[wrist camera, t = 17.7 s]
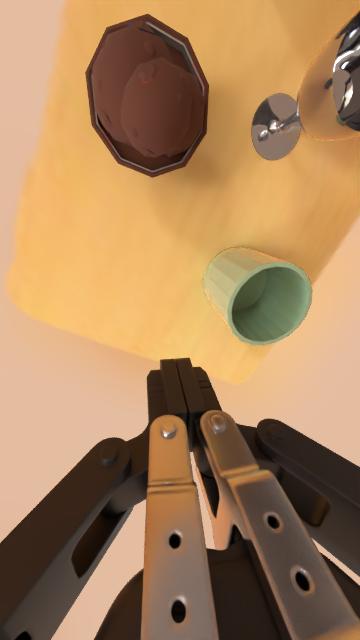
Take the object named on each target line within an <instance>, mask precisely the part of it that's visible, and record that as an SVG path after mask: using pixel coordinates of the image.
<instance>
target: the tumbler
mask: <svg viewBox="0 0 360 640" xmlns="http://www.w3.org/2000/svg"><path fill="white" fill-rule="evenodd" d="M203 288H204V293H205V295H206V297H207V299H208V301H209V302H210V304H211V305H212V306H213V308H214V309H215V310H216V312H217V313H218V314H219V316H220V317H221V318H222V320H223V321H224V322H225V323H226V325H227V326H228V327H229V329H230V330H231V331H232V333H233V334H234V335H235V336H236V337H238V338H239V339H240V340H241V341H243V342H246V343H248V344H251V345H267V344H271V343H275V342H278V341H279V340H281V339H283V338H285V337H287V336H289V335H290V334H291V333H292V332H293V331H294V330H295V329H297V328H298V327H299V325H300V324H301V322H302V321H303V320H304V318H305V317H306V315H307V312H308V310H309V308H310V305H311V301H312V287H311V283H310V279H309V278H308V276H307V275H306V274H305V272H304V271H303V270H302V269H301V268H300V267H298V266H296V265H294V264H292V263H290V262H287V261H284V260H281V259H279V258H276V257H273V256H270V255H267V254H264V253H262V252H259V251H256V250H253V249H249V248H246V247H233V248H229V249H226V250H224V251H222V252H221V253H219V254H218V255H217V256H216V257H215V258H213V260H212V261H211V262H210V264H209V265H208V267H207V269H206V271H205V274H204V278H203Z"/></svg>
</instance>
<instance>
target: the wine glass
mask: <svg viewBox="0 0 360 640" xmlns="http://www.w3.org/2000/svg"><path fill="white" fill-rule="evenodd" d="M301 128H302V129H303V131H304V132H305V133H306V134H307V135H308V136H310V137H311V138H314V139H317V140H321V141H337V140H344V139H350V138H353V137H357V136H360V10H359V11H357V12H356V13H355V14H354V15H353V16H352V17H351V18H350V19H349V20H348V21H347V22H346V23H345V24H344V25H343V26H342V27H341V28H340V29H339V30H338V31H337V32H336V33H335V34H334V35H333V36H332V37H331V38H330V40H329V41H328V42H327V43H326V44H325V46H324V47H323V48H322V49H321V51H320V52H319V53H318V54H317V56H316V57H315V59H314V60H313V62H312V63H311V65H310V66H309V68H308V70H307V72H306V74H305V76H304V78H303V80H302V82H301V85H300V88H299V92H298V97H297V103H296V102H295V100H294V99H293V98H291V97H290V96H288V95H286V94H280V93H279V94H274V95H272V96H270V97H268V98H267V99H265V100H264V101H263V102H262V103H261V105H260V106H259V107H258V109H257V111H256V113H255V115H254V118H253V122H252V129H251V136H252V142H253V145H254V147H255V149H256V151H257V152H258V154H259V155H260V156H262V157H263V158H265V159H267V160H278V159H281V158H283V157H284V156H286V155H287V154H288V153H289V152H290V151H291V150H292V149H293V147H294V146H295V144H296V142H297V140H298V138H299V135H300V130H301Z"/></svg>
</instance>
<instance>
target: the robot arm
mask: <svg viewBox="0 0 360 640" xmlns="http://www.w3.org/2000/svg"><path fill="white" fill-rule="evenodd" d="M147 395H148V415H149V423H148V426H147V428H146V429H145V430H144V432H143V433H142V434H140V435H139V436H137V437H135V438H133V439H131V440H129V441H124V440H123V439H120V438H115V437H114V438H107V439H105V440H102V441H101V442H99V443H98V444H96V445H95V446H94V447H93V448H92V449H91V450H90V451H89V452H88V453H87V454H86V455H85V457H83V459H82V460H81V461H80V462H79V463H78V464H77V465H76V466H75V467H74V468H73V469H72V470H71V471H70V472H69V473H68V474H67V475H66V476H65V477H64V478H63V479H62V480H61V481H60V482H59V483H58V484H57V485H56V486H55V487H54V488H53V489H52V490H51V491H50V492H49V493H48V494H47V495H46V497H45V498H44V499H43V500H42V501H41V502H40V503H39V504H38V505H37V506H36V507H35V508H34V509H33V510H32V511H31V512H30V513H29V514H28V515H27V516H26V517H25V518H24V519H23V520H22V521H21V522H20V523H19V524H18V525H17V526H16V527H15V528H14V529H13V530H12V531H11V532H10V534H9V535H8V536H7V537H6V538H5V539H4V540H3V541H2V542H1V543H0V640H51V638H52V637H53V635H54V634H55V632H56V630H57V629H58V627H59V626H60V624H61V623H62V621H63V619H64V618H65V616H66V615H67V613H68V612H69V610H70V608H71V607H72V605H73V604H74V602H75V600H76V599H77V597H78V596H79V594H80V593H81V591H82V589H83V588H84V586H85V585H86V583H87V581H88V580H89V578H90V576H91V575H92V574H93V572H94V570H95V569H96V567H97V566H98V564H99V562H100V561H101V559H102V558H103V556H104V555H105V553H106V551H107V550H108V548H109V547H110V545H111V543H112V542H113V540H114V539H115V537H116V536H117V534H118V532H119V531H120V529H121V528H122V526H123V524H124V523H125V521H126V520H127V518H128V517H129V515H130V513H131V512H132V510H133V507H134V505H136V504H138V503H140V502H141V501H143V500H145V499H146V523H145V547H144V568H143V569H142V570H141V571H139V572H138V573H137V574H136V575H135V576H134V577H133V578H132V579H131V580H130V581H129V582H128V583H127V584H126V585H125V586H124V588H123V589H122V590H121V592H120V593H119V594H118V596H117V597H116V599H115V600H114V602H113V604H112V605H111V607H110V609H109V611H108V613H107V615H106V617H105V619H104V621H103V623H102V625H101V626H100V628H99V631H98V632H97V635H96V637H95V638H94V640H360V585H358V584H357V583H356V582H355V581H354V580H353V579H352V578H350V577H349V576H348V575H347V574H346V573H345V572H344V571H342V570H341V569H340V568H339V567H338V566H337V565H335V564H334V563H333V562H332V561H330V559H328V558H327V557H326V556H325V555H323V554H322V553H320V552H319V551H318V549H317V547H316V545H315V544H314V542H313V540H312V539H311V538H313V539H314V540H315V541H316V542H317V543H319V544H320V545H321V546H322V547H324V548H325V549H326V550H327V551H328V552H330V553H331V554H332V555H333V556H335V557H336V558H337V559H338V560H340V561H341V562H342V563H343V564H345V565H346V566H347V567H348V568H349V569H351V570H352V571H353V572H354V573H355V574H357V575H358V576H359V577H360V467H359V466H357V465H355V464H353V463H352V462H350V461H348V460H347V459H345V458H343V457H341V456H340V455H338V454H336V453H334V452H333V451H331V450H329V449H327V448H326V447H324V446H322V445H321V444H319V443H317V442H315V441H314V440H312V439H310V438H308V437H307V436H305V435H303V434H302V433H300V432H298V431H296V430H295V429H293V428H291V427H289V426H288V425H286V424H284V423H282V422H281V421H278V420H275V419H264V420H262V421H260V422H259V423H258V425H257V428H256V427H250V426H244V425H239V424H237V423H235V421H234V420H233V418H232V417H231V416H230V415H228V414H227V413H225V412H223V411H222V409H221V407H220V404H219V402H218V400H217V397H216V394H215V392H214V390H213V388H212V385H211V383H210V380H209V378H208V375H207V373H206V372H205V371H204V370H203V369H202V368H201V367H192V364H191V361H190V358H179V359H163V360H160V370H151V371H150V373H149V374H148V376H147ZM190 452H193V454H194V458H195V462H196V472H197V475H198V479H199V482H200V485H201V488H202V492H203V496H204V499H205V502H206V506H207V509H208V512H209V516H210V519H211V523H212V529H213V538H214V544H215V549H216V550H214V549H208V548H206V544H205V537H204V531H203V524H202V517H201V509H200V502H199V495H198V489H197V485H196V483H195V482H194V480H193V473H192V465H191V458H190Z"/></svg>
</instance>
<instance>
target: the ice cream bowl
mask: <svg viewBox="0 0 360 640" xmlns="http://www.w3.org/2000/svg"><path fill="white" fill-rule="evenodd" d="M86 81H87V89H88V98H89V106H90V115H91V123H92V126H93V128H94V129H95V131H96V132H97V133H98V135H99V136H100V138H101V139H102V141H103V142H104V144H105V145H106V147H107V148H108V149H109V151H110V152H111V154H112V155H113V157H114V158H115V160H116V161H117V162H118V163H119V164H121V165H123V166H126V167H128V168H131V169H133V170H136V171H138V172H140V173H143V174H145V175H148V176H150V177H156V176H159V175H162V174H165V173H167V172H170V171H173V170H176V169H179V168H182V167H185V166H186V164H187V163H188V161H189V160H190V158H191V156H192V155H193V153H194V152H195V150H196V149H197V147H198V146H199V144H200V142H201V141H202V139H203V138H204V136H205V135H206V131H207V112H208V93H209V84H208V82H207V80H206V78H205V76H204V73H203V71H202V69H201V67H200V64H199V62H198V60H197V58H196V55H195V53H194V51H193V49H192V47H191V44H190V42H189V40H188V38H187V37H185V36H183V35H182V34H180V33H178V32H177V31H175V30H173V29H172V28H170V27H169V26H167V25H165V24H164V23H162V22H160V21H159V20H157V19H156V18H154V17H152V16H151V15H149V14H146V15H143V16H140V17H137V18H134V19H131V20H128V21H125V22H122V23H119V24H116V25H113V26H110V27H107V28H106V30H105V32H104V34H103V36H102V39H101V41H100V43H99V45H98V47H97V49H96V51H95V54H94V56H93V58H92V60H91V62H90V64H89V66H88V68H87V71H86Z"/></svg>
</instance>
